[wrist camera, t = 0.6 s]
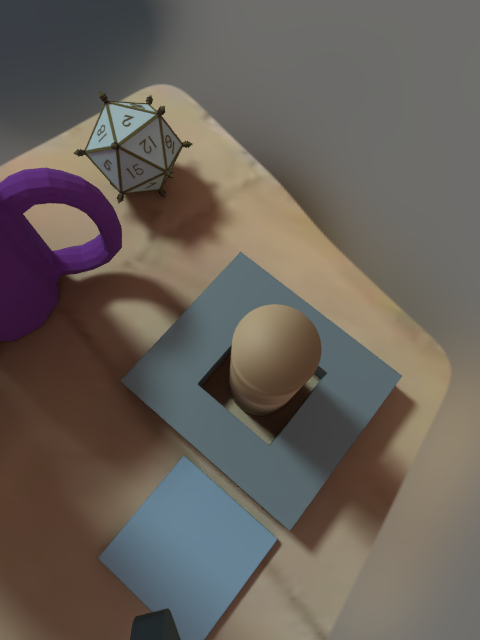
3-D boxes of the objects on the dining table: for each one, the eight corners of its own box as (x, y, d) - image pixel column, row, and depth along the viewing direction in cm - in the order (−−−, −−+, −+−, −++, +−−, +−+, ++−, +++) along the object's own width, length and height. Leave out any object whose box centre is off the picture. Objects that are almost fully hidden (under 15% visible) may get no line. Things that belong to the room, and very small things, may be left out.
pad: (99, 556, 33) (97, 558, 32) (184, 455, 35) (183, 455, 34) (194, 650, 31) (194, 653, 31) (276, 538, 33) (277, 539, 33)
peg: (216, 388, 37) (213, 351, 25) (255, 341, 38) (269, 287, 26) (265, 429, 36) (284, 410, 24) (303, 380, 37) (339, 341, 26)
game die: (130, 193, 46) (66, 97, 40) (206, 157, 44) (151, 50, 38) (119, 242, 40) (40, 137, 33) (208, 202, 38) (141, 82, 31)
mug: (-56, 259, 39) (-216, 140, 25) (122, 213, 41) (68, 78, 27) (-41, 359, 37) (-210, 290, 22) (148, 304, 39) (103, 209, 24)
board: (127, 386, 36) (120, 381, 34) (239, 264, 40) (240, 251, 38) (285, 526, 34) (289, 530, 31) (390, 381, 37) (402, 375, 35)
